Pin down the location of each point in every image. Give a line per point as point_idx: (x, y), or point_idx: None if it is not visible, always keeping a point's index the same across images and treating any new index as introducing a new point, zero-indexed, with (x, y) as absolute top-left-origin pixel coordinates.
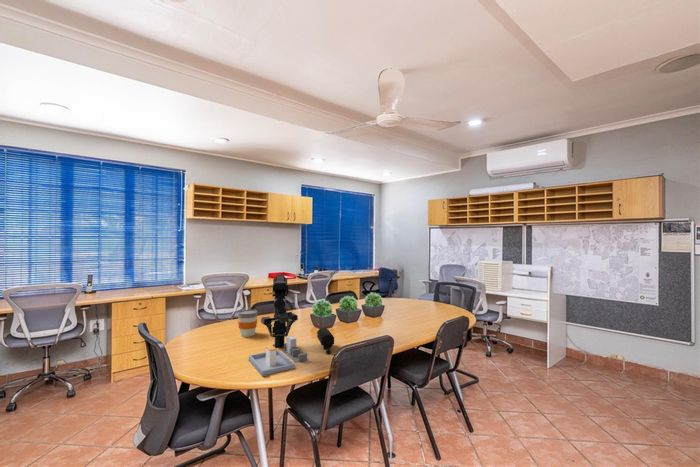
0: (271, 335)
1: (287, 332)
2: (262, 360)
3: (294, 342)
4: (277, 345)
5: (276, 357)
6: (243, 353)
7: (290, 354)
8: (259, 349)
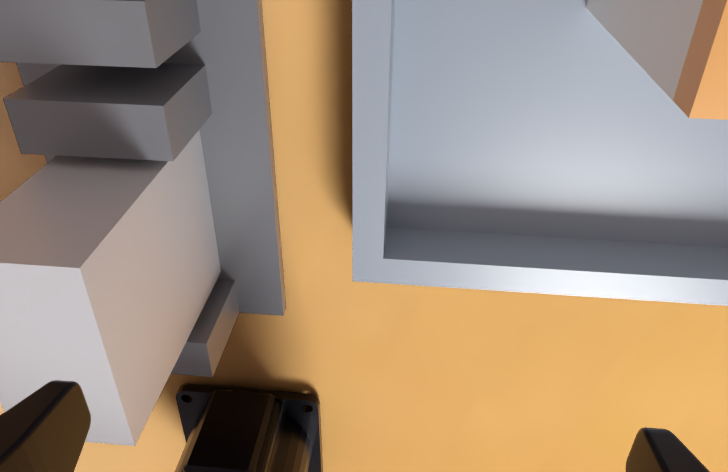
0: (668, 452)
1: (60, 421)
2: None
3: (28, 213)
4: (286, 434)
5: (452, 107)
6: (708, 463)
7: (203, 87)
8: (493, 468)
